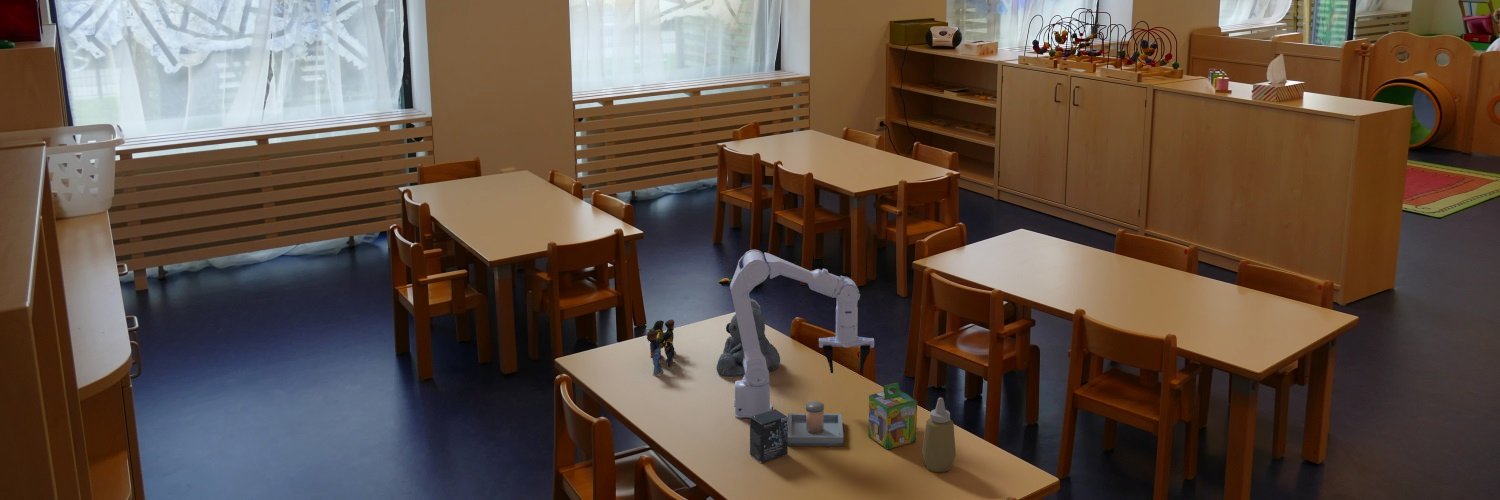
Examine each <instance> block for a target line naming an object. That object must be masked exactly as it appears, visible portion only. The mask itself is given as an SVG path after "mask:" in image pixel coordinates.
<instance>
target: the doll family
mask: <svg viewBox="0 0 1500 500" xmlns="http://www.w3.org/2000/svg"><path fill="white" fill-rule="evenodd" d="M664 326H665V327H666V330H665V331H664V330H663V328H664ZM674 328H675V320H674V319H668V320H666V321H664V320H660V319H659V320H657V321H655V323H654V324H653V326H652V327H651V328H648V327H646V330H648V331H647V333H646V335H645V336H646V340H647V342H649V346H650V347H649V350H650V359H652V364H653V371H652V376H654V377H661V376H662V375H663V374H662V373H664V369H663V368H662V365H661V364H660V363H663V362H664V361H665V363H666V364H667V366H666V367H665V369H666V370H675V369H676V367H675V366H677V365H678V363H677V362H676V361H674V360H673V359H674V358H676V357H678V355H677V352H676V350H675V347H674V336H675V335H674ZM661 349H664V353H665V356H666V359H665V356H663V355H662V354H661V352H662V350H661ZM664 359H665V360H664Z"/></svg>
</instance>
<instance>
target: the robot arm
mask: <svg viewBox="0 0 1500 500" xmlns="http://www.w3.org/2000/svg"><path fill="white" fill-rule="evenodd" d="M778 276H783V277H785V278H789V279H792V280H796V281H799V282H802V283H805V284H807V285H808V287H809V289H810V290H811V291H813V292H817V293H818V294H819V293H820V294H823V295H824V296H827V297H829V298H836V307H835V336H830V337H829V336H828V337H819V338H818V348H819V349H820V348H822V351H823V354H824V355H825V358H826V360H827V363H828V365H829V370H830V374H834V363H833V362H834V361H833V355H834V354H833V352H834V351H833V347H834V348H835V347H838V348H841V347H842V348H851V347H852V348H853V347H855V348H856V347H858V348H859V364H858V367H859V368H858V373H859V374H862V373H863V371H864V370H863V369H864V365H865V363H866V360H867V358H868V357H869V355H870V352H871V349H872V348H875V339H874V337H863V336H858V321H859V320H858V316H859V315H858V313H859V312H858V310H859V308H858V301H859V300H860V298H861V294H860V290H859V288H858V285H856V283H855V281H854V280H853V279H851V277H848V276H843V275H840V276H838V275H835V274H833V273H830V272H829V270H828V269H826V268H822V269H820V268H817V269H816V268H815V269H814V270H809V269H807V268H804V267H802V266H799V265H796V264H795V263H792V262H790V261H788V260H785V259H782V258H780V257H778V256H776V255H774V254H771V253H769V252H764V253H763V252H762V251H761V250H758V249H750V250H748V251H746V252H745V253H744V254H743V255H742V256H741V257H740V259H738V262H737V266H736V269H735V271H734V274H733V277H732V279H731V282H730V285H729V289H730V294H731V299H732V303H733V307H734V311H735V314H736V317H737V322H738V327H739V331H740V336H741V341H742V346H743V350H744V359H743V367H744V370H745V375H743V377H742V379H740V380H735V383H734V403H733V404H734V408H735V411H734V412H735V413H734V414H735V415H734V416H735V418H748V419H750V416H754V415H758V414H761V413H765V412H768V411H771V410H773V404H772V403H771V394H770V392H771V385H770V383H771V382H770V370H768V369H767V365H766V359H765V357H764V355H763V354H762V353H761V350H760V345H759V341H758V336H757V331H756V326H755V321H754V317H753V312H752V307H751V302H750V299H751V298H750V292H752V291H753V289H754V288H755V287H757V286H758V285H761V284H762V283H763V282H764V281H766V280H767V278H768V277H769V279H770V280H771V279H773V278H776V277H778Z"/></svg>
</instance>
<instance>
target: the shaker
mask: <svg viewBox="0 0 1500 500" xmlns="http://www.w3.org/2000/svg"><path fill="white" fill-rule="evenodd" d="M824 409H825V405H824V403H823V402H821V401H817V400H814V401H808V402H806V404H805V411H806V431H807V432H808V433H811V434H819V433H822V432H823V431H824V413H825V412H824Z"/></svg>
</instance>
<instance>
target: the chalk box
mask: <svg viewBox="0 0 1500 500" xmlns="http://www.w3.org/2000/svg"><path fill="white" fill-rule="evenodd" d="M917 416H918V401H917V399H914V398H913V397H912V396H910V395H909V394H908V393H906V392H903V391H901V389H900V384H899V382H893V383H890V384H885V385H884V386H883V391H880V392H877V393H873V394H869V395H868V432H867V433H868V437H869V439H870V438H871V439H872V440H873V441H875V442H876V443H878V444H879V445H880V446H882V447H884V448H885V449H886V450H889V449H895V448H898V447H902V446H905V445H909V444H912V443H916V442H917V441H916V440H917V420H918V419H917Z"/></svg>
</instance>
